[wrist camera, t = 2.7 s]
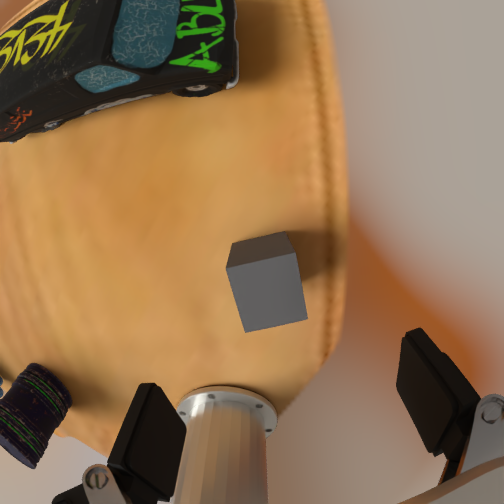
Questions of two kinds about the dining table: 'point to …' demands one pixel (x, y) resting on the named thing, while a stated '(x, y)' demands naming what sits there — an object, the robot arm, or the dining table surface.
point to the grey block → (266, 282)
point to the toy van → (111, 57)
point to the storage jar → (32, 413)
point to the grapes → (0, 391)
